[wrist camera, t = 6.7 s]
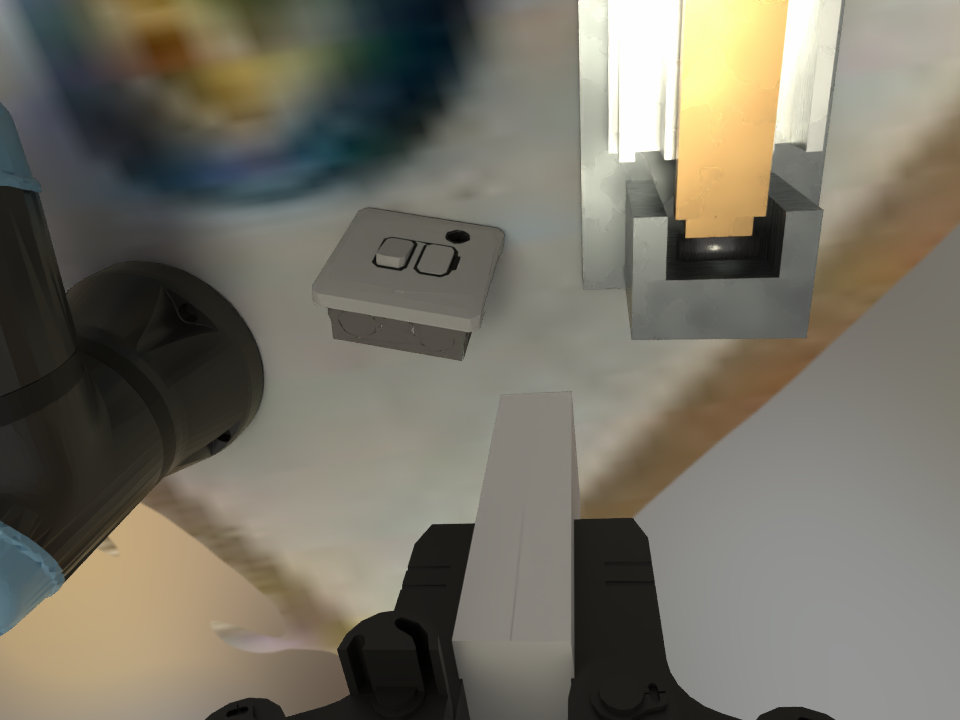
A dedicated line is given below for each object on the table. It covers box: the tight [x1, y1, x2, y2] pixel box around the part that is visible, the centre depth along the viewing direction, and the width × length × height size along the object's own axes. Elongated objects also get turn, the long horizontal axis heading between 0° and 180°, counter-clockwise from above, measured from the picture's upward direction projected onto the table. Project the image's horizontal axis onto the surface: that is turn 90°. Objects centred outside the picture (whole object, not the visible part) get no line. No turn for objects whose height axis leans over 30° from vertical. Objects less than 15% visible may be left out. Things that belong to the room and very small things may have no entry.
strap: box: [673, 0, 789, 262], centre depth 29 cm, size 15×4×1 cm, turn 4°
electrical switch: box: [312, 208, 504, 361], centre depth 40 cm, size 9×5×9 cm, turn 83°
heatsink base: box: [578, 0, 845, 340], centre depth 32 cm, size 22×13×10 cm, turn 5°
